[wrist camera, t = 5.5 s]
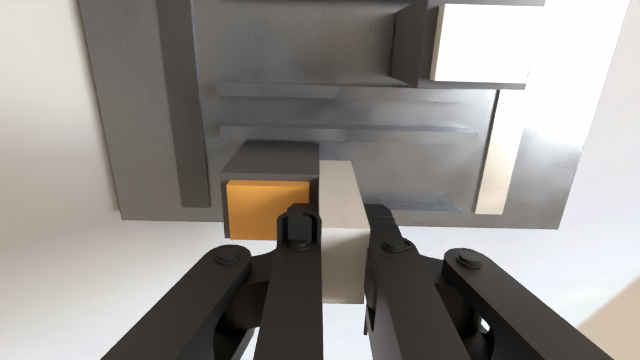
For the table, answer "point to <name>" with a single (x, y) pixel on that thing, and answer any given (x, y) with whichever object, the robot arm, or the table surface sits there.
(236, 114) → the panel
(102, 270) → the table surface
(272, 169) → the block
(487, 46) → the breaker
